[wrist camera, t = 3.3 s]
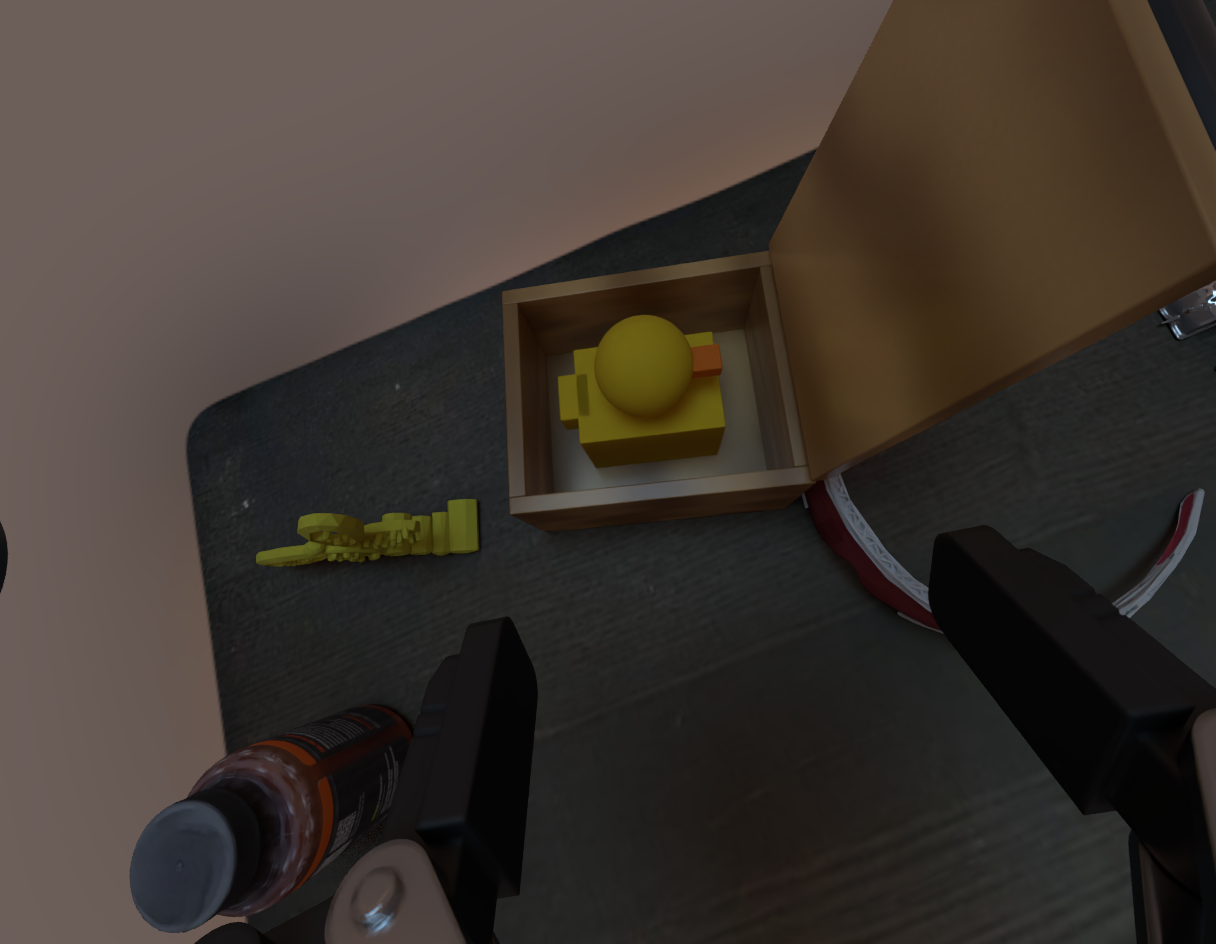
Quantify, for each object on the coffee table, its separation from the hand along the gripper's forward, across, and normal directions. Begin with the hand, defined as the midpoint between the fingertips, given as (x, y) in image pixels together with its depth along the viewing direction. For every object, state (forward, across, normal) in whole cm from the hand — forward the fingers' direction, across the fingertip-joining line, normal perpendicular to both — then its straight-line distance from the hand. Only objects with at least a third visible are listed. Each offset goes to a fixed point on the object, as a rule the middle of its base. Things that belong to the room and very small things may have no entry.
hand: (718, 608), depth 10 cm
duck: (+20, 0, +6) cm, 21 cm away
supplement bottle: (+10, +19, +17) cm, 27 cm away
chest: (+21, 0, +6) cm, 22 cm away
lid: (+10, -8, -4) cm, 13 cm away
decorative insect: (+18, +18, +9) cm, 27 cm away
